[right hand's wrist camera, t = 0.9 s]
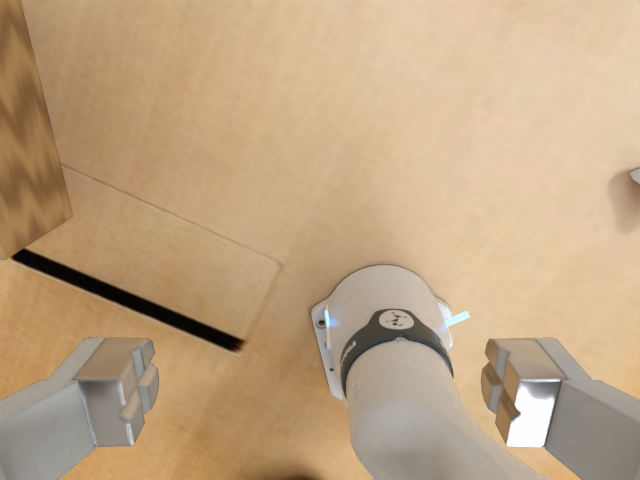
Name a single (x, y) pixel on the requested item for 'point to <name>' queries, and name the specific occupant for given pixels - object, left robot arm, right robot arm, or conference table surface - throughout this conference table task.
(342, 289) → the right robot arm
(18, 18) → the box
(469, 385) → the conference table surface
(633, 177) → the fish
